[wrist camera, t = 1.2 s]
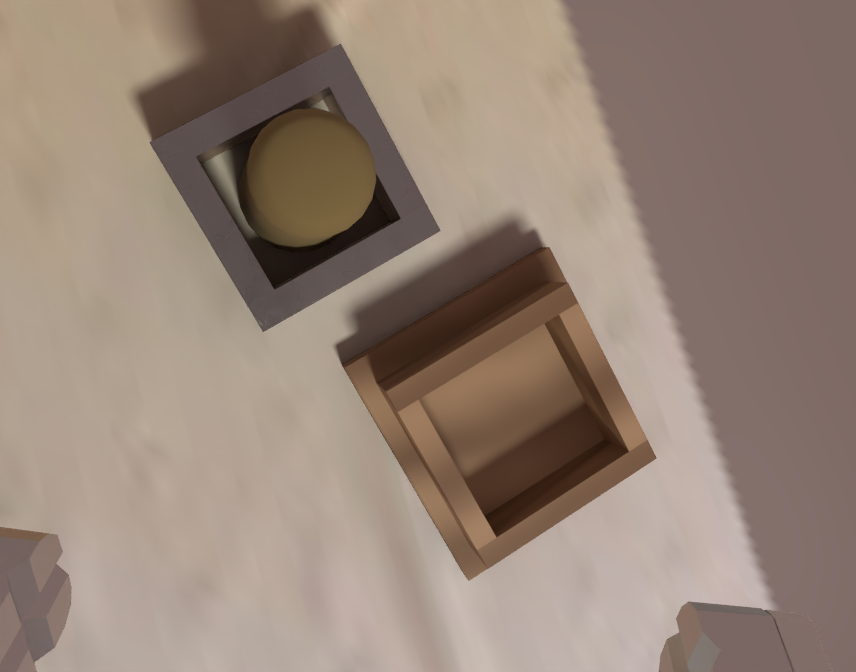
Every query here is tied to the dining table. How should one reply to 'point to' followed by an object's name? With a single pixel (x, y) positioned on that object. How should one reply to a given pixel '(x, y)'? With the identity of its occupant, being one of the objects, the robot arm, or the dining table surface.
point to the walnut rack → (502, 411)
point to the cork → (306, 180)
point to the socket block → (246, 118)
